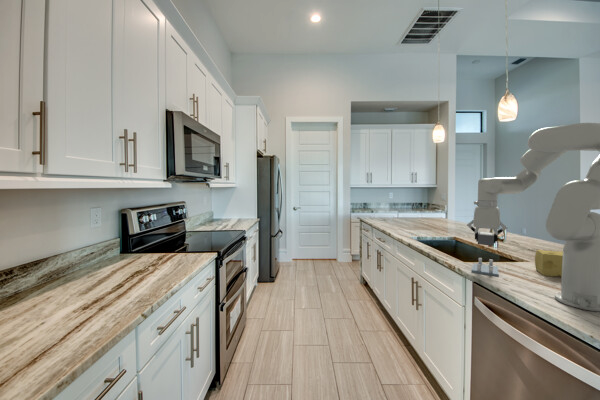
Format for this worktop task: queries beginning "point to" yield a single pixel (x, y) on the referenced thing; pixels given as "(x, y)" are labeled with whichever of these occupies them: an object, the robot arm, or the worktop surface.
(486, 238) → the block
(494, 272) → the grey piece
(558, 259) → the cheese
